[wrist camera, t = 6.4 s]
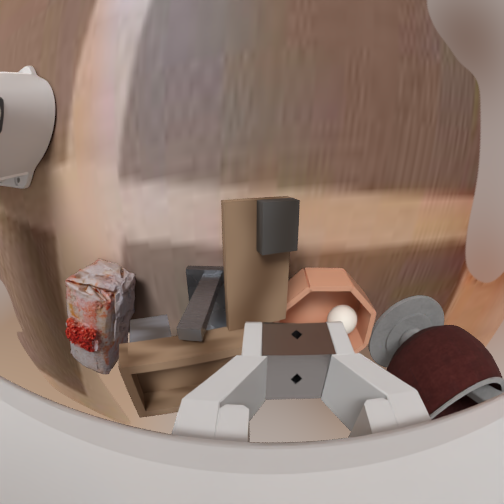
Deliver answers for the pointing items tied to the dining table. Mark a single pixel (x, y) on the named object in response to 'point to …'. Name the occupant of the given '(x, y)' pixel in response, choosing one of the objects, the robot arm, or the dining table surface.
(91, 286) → the food item
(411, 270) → the dining table surface
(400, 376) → the mate gourd
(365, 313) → the octagonal bowl
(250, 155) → the dining table surface
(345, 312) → the ball
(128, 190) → the dining table surface
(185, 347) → the tipping chute
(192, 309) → the chute stand
